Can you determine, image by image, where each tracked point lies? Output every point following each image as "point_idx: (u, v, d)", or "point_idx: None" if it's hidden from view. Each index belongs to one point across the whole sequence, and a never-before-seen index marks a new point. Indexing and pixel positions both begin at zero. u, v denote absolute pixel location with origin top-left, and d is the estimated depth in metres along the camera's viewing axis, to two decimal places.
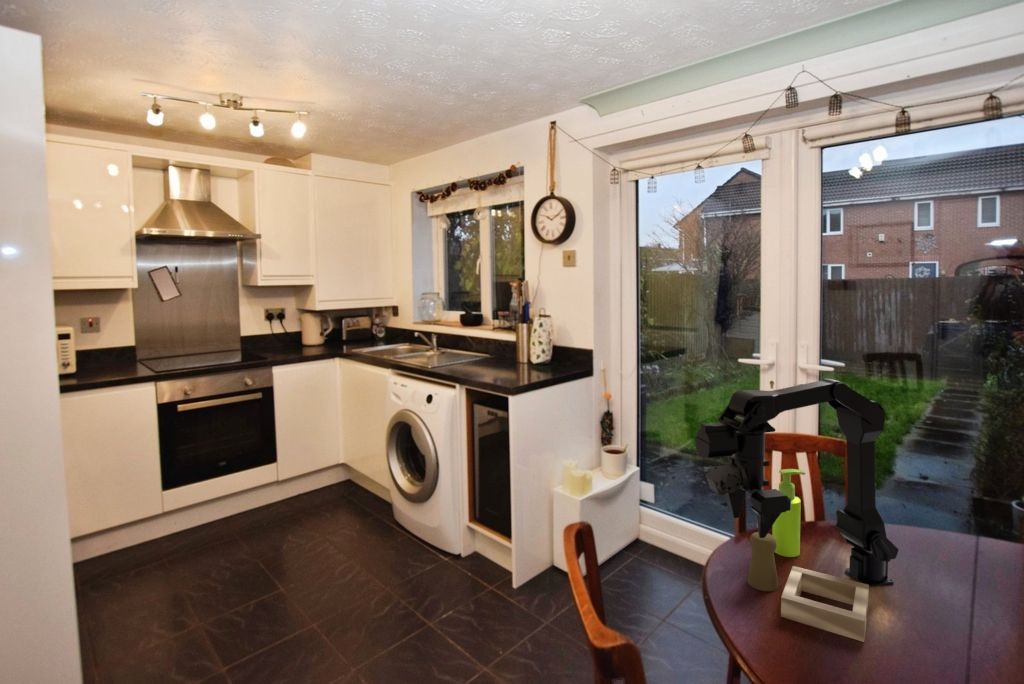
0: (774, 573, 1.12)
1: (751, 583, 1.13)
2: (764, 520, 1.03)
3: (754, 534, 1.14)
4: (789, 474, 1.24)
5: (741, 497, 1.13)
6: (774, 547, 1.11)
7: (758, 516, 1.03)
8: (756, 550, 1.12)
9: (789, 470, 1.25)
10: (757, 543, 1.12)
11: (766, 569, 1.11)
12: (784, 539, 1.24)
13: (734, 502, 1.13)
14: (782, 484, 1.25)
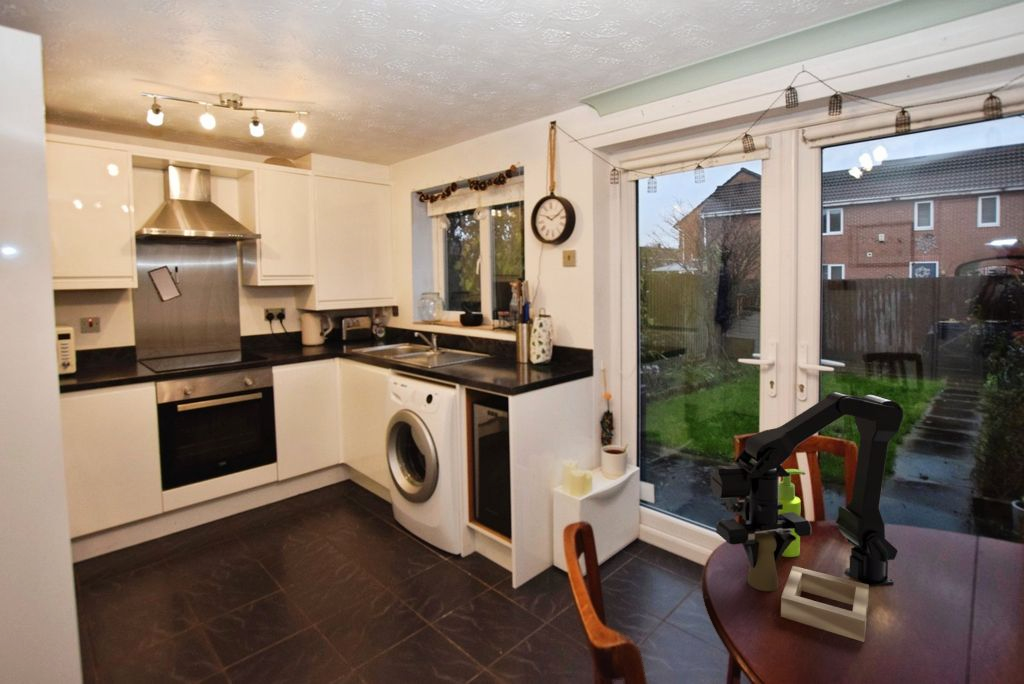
0: (774, 573, 1.12)
1: (751, 583, 1.13)
2: (747, 548, 1.13)
3: None
4: None
5: (779, 548, 1.12)
6: (774, 547, 1.11)
7: None
8: None
9: (789, 470, 1.25)
10: None
11: (766, 569, 1.11)
12: None
13: None
14: (782, 484, 1.25)
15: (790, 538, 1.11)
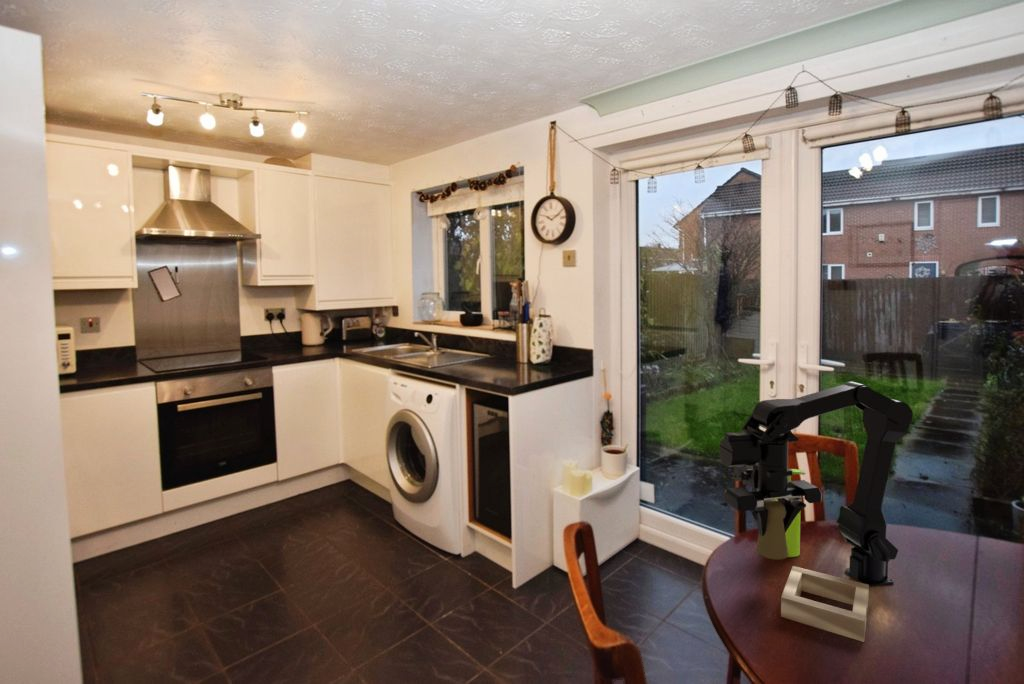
0: (784, 541, 1.09)
1: (760, 552, 1.11)
2: (755, 516, 1.11)
3: None
4: None
5: (788, 516, 1.10)
6: (783, 514, 1.09)
7: None
8: None
9: None
10: None
11: (775, 537, 1.09)
12: None
13: None
14: None
15: (800, 505, 1.09)
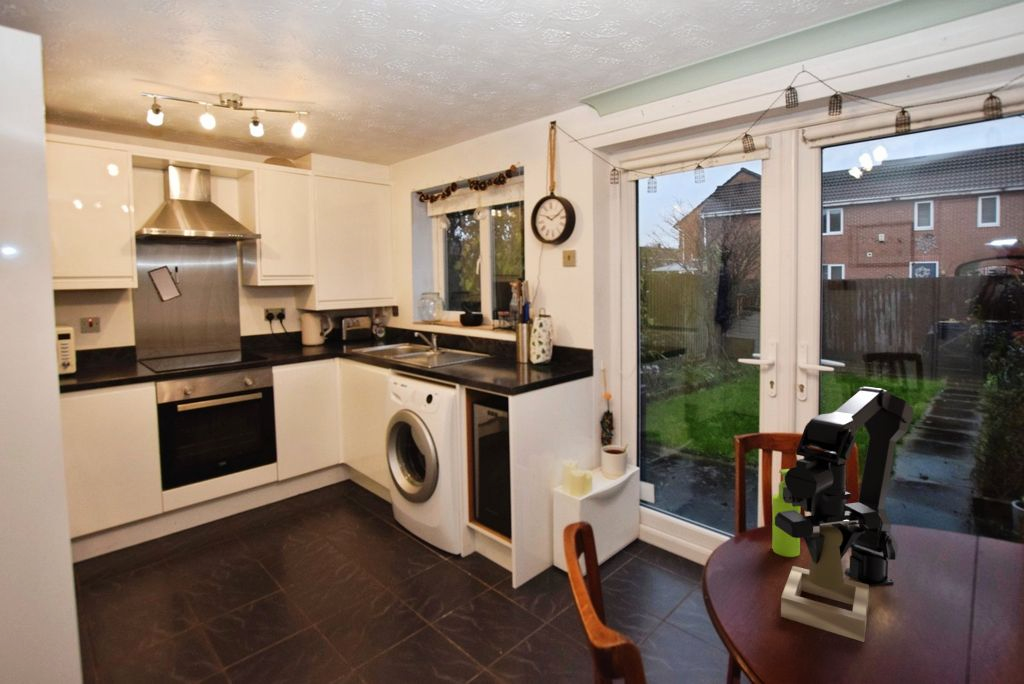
0: (840, 569, 1.01)
1: (814, 580, 1.03)
2: (809, 542, 1.02)
3: None
4: None
5: (845, 542, 1.02)
6: (841, 541, 1.00)
7: None
8: None
9: None
10: None
11: (831, 565, 1.01)
12: (784, 539, 1.24)
13: None
14: (782, 484, 1.25)
15: (858, 531, 1.00)
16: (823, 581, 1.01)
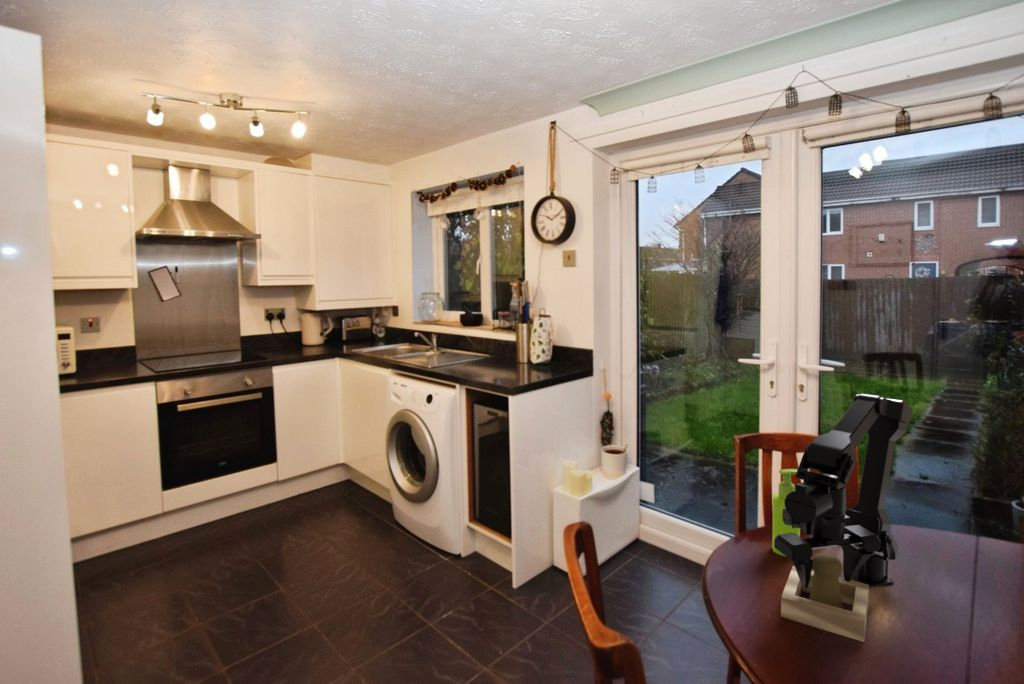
0: (839, 600, 1.02)
1: None
2: (798, 566, 1.03)
3: (816, 556, 1.04)
4: (789, 474, 1.24)
5: (854, 564, 1.02)
6: (840, 571, 1.01)
7: None
8: (819, 574, 1.02)
9: (789, 470, 1.25)
10: (821, 566, 1.02)
11: (830, 595, 1.01)
12: None
13: (846, 563, 1.04)
14: (782, 484, 1.25)
15: (868, 553, 1.01)
16: None
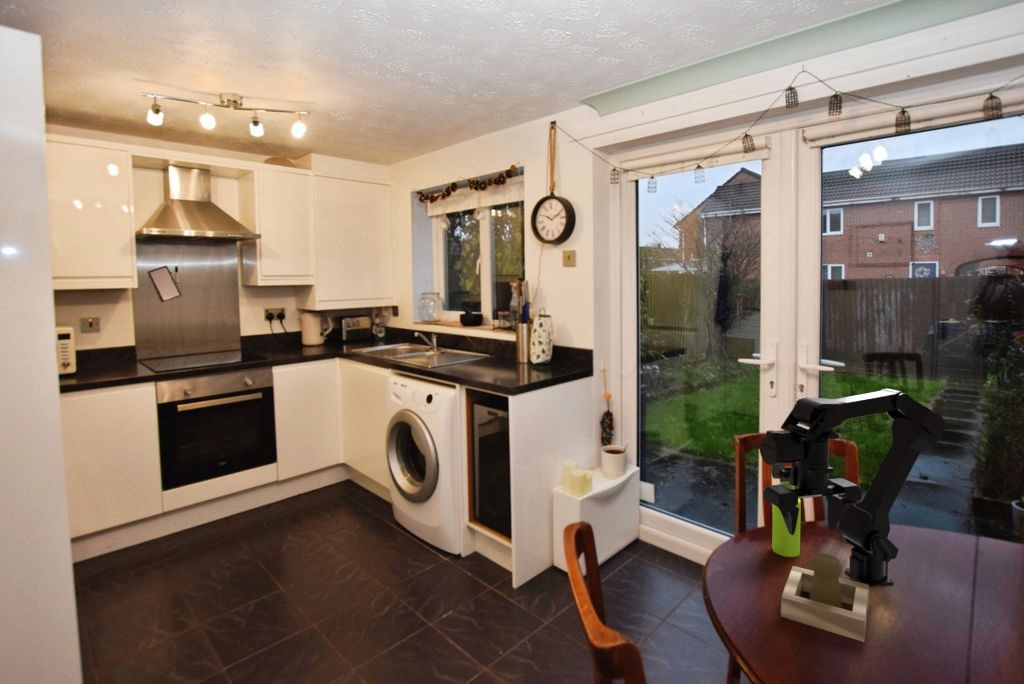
0: (839, 600, 1.02)
1: None
2: (785, 515, 1.10)
3: (816, 556, 1.04)
4: None
5: (838, 513, 1.10)
6: (840, 571, 1.01)
7: None
8: (819, 574, 1.02)
9: None
10: (821, 566, 1.02)
11: (830, 595, 1.01)
12: (784, 539, 1.24)
13: (830, 513, 1.12)
14: (782, 484, 1.25)
15: (850, 502, 1.09)
16: None
